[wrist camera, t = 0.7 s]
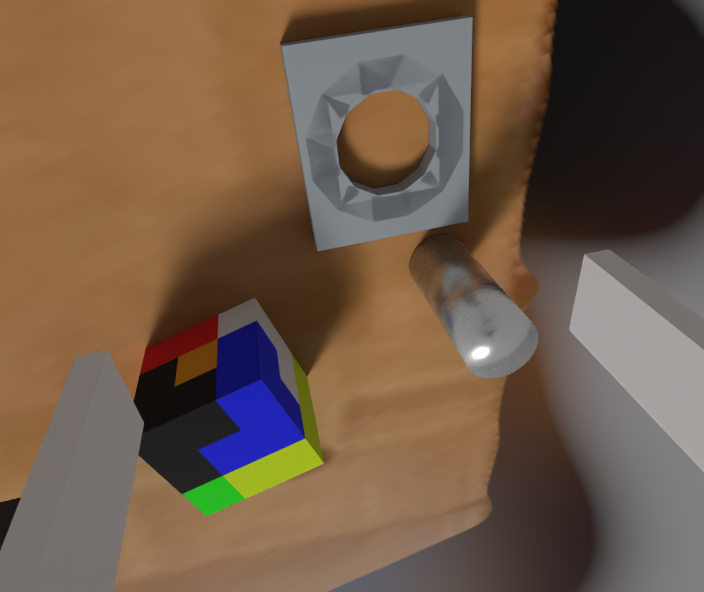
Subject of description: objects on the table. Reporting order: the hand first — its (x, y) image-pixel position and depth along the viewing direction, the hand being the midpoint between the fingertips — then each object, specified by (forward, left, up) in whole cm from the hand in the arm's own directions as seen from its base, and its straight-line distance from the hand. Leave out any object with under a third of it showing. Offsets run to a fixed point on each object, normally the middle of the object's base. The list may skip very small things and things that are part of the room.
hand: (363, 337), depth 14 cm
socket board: (+2, +7, -24) cm, 25 cm away
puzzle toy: (+19, -8, -24) cm, 32 cm away
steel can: (+13, +11, -24) cm, 29 cm away
